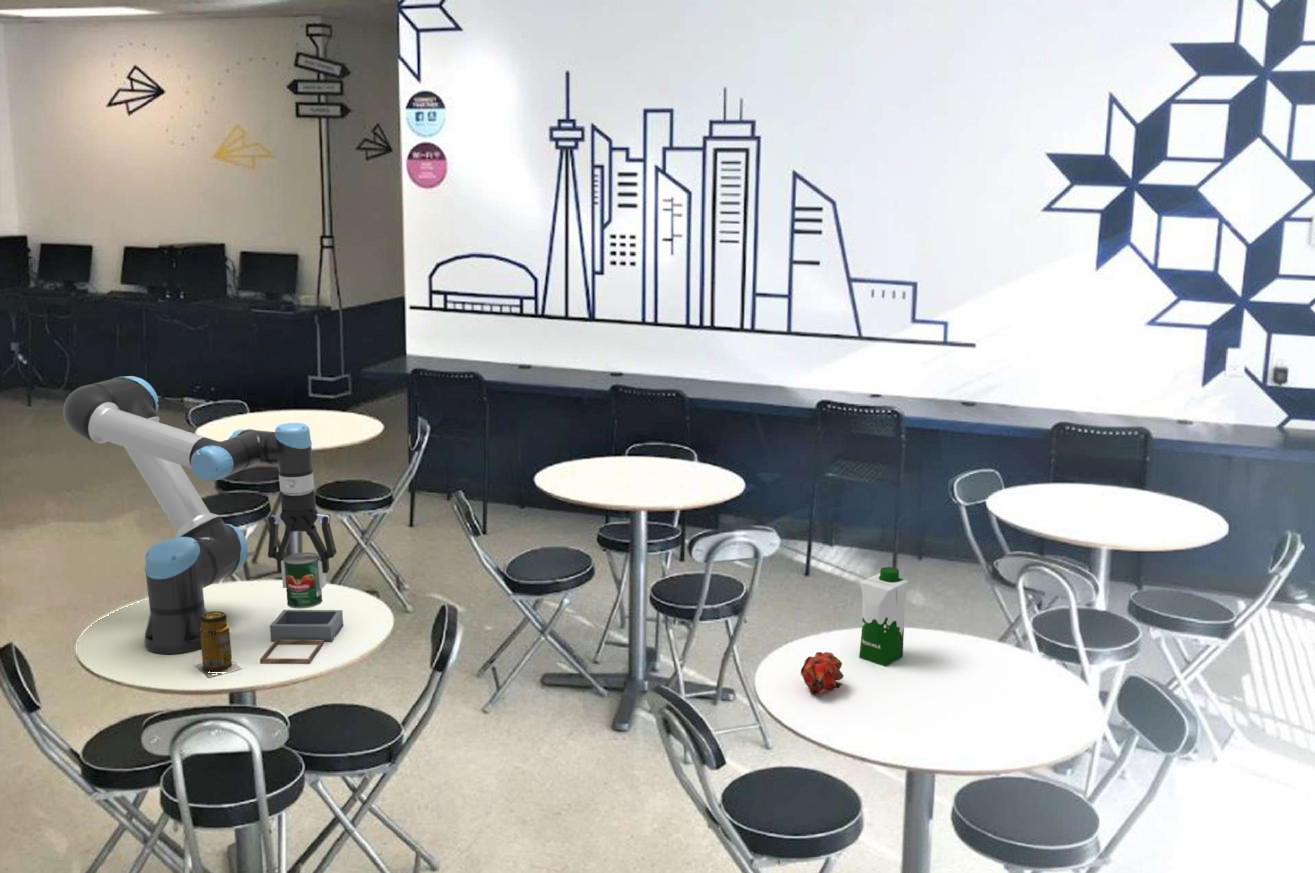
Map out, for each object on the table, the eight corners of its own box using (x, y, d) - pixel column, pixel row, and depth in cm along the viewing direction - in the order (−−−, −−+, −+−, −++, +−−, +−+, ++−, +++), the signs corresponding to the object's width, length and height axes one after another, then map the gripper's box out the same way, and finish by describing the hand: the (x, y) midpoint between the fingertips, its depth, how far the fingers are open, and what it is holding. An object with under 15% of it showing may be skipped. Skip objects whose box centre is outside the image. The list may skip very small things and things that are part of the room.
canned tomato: (289, 610, 279) (286, 564, 277) (284, 599, 286) (281, 554, 284) (325, 605, 282) (322, 559, 280) (319, 594, 289) (316, 550, 287)
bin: (271, 642, 282) (269, 625, 281) (284, 625, 292) (283, 609, 291) (331, 642, 282) (330, 626, 281) (343, 625, 292) (342, 610, 291)
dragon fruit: (830, 683, 264) (819, 715, 253) (798, 659, 264) (786, 690, 253) (854, 659, 260) (844, 690, 249) (821, 634, 260) (810, 664, 249)
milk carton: (908, 656, 274) (912, 571, 269) (886, 669, 267) (890, 582, 262) (875, 646, 279) (878, 562, 275) (852, 657, 273) (856, 573, 268)
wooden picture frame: (260, 663, 271) (260, 659, 270) (276, 643, 281) (276, 639, 281) (309, 663, 270) (309, 659, 270) (324, 643, 281) (323, 639, 281)
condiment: (227, 657, 274) (223, 606, 271) (242, 669, 268) (237, 617, 265) (195, 665, 270) (190, 614, 267) (208, 678, 263) (203, 626, 260)
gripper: (246, 495, 275) (254, 591, 281) (338, 495, 275) (344, 591, 280) (257, 486, 283) (265, 580, 288) (347, 486, 282) (353, 580, 287)
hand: (304, 585), depth 284 cm, fingers closed on canned tomato, 8 cm apart
